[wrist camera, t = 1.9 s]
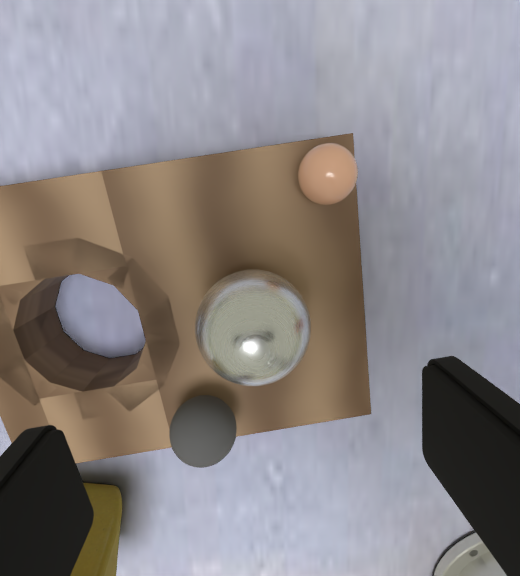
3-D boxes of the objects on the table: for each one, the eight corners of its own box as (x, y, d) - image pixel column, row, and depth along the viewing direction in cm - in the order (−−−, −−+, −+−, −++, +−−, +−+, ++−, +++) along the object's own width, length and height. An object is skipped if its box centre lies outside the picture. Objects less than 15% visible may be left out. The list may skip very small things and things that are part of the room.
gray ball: (231, 377, 21) (229, 417, 17) (241, 429, 22) (241, 477, 18) (170, 387, 21) (154, 430, 17) (183, 439, 22) (171, 489, 18)
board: (330, 146, 22) (352, 133, 18) (349, 379, 27) (371, 413, 22) (-25, 200, 21) (-92, 199, 17) (59, 427, 26) (24, 472, 22)
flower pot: (36, 456, 27) (-61, 578, 18) (143, 467, 28) (99, 587, 19) (35, 537, 29) (-52, 680, 20) (135, 544, 30) (92, 684, 21)
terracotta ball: (344, 144, 18) (365, 133, 15) (348, 200, 18) (368, 200, 16) (290, 152, 18) (300, 142, 15) (297, 208, 18) (307, 209, 16)
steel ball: (293, 252, 19) (316, 275, 13) (304, 344, 21) (329, 400, 15) (193, 268, 19) (172, 298, 13) (211, 359, 21) (200, 421, 15)
